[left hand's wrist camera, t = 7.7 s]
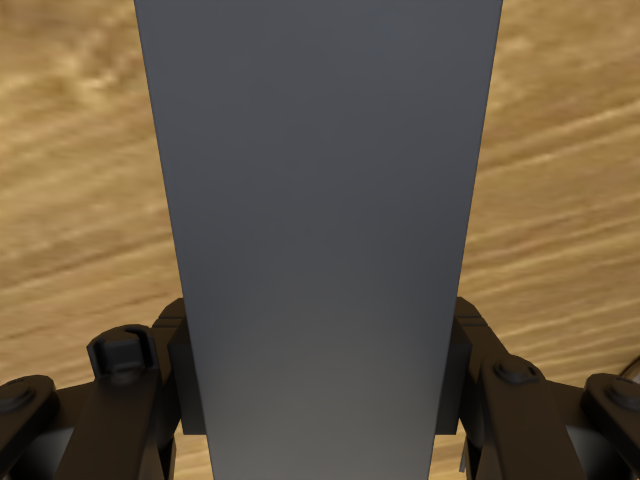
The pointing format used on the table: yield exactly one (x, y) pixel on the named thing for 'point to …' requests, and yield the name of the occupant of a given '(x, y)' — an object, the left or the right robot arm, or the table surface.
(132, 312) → the table surface
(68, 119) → the table surface
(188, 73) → the post
